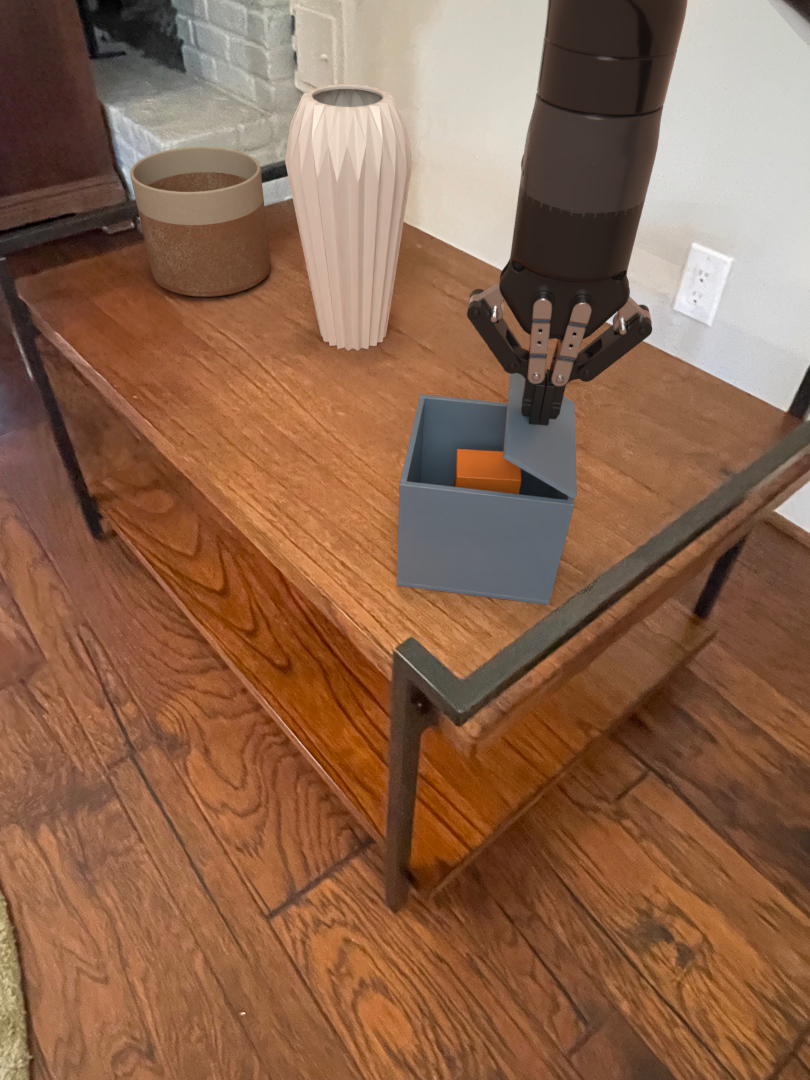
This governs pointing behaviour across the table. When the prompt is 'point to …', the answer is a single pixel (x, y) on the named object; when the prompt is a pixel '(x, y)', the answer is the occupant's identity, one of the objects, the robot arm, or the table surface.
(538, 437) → the gray box lid
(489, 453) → the block
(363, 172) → the vase
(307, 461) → the table surface
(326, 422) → the table surface
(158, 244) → the planter
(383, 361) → the table surface
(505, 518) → the blue box
